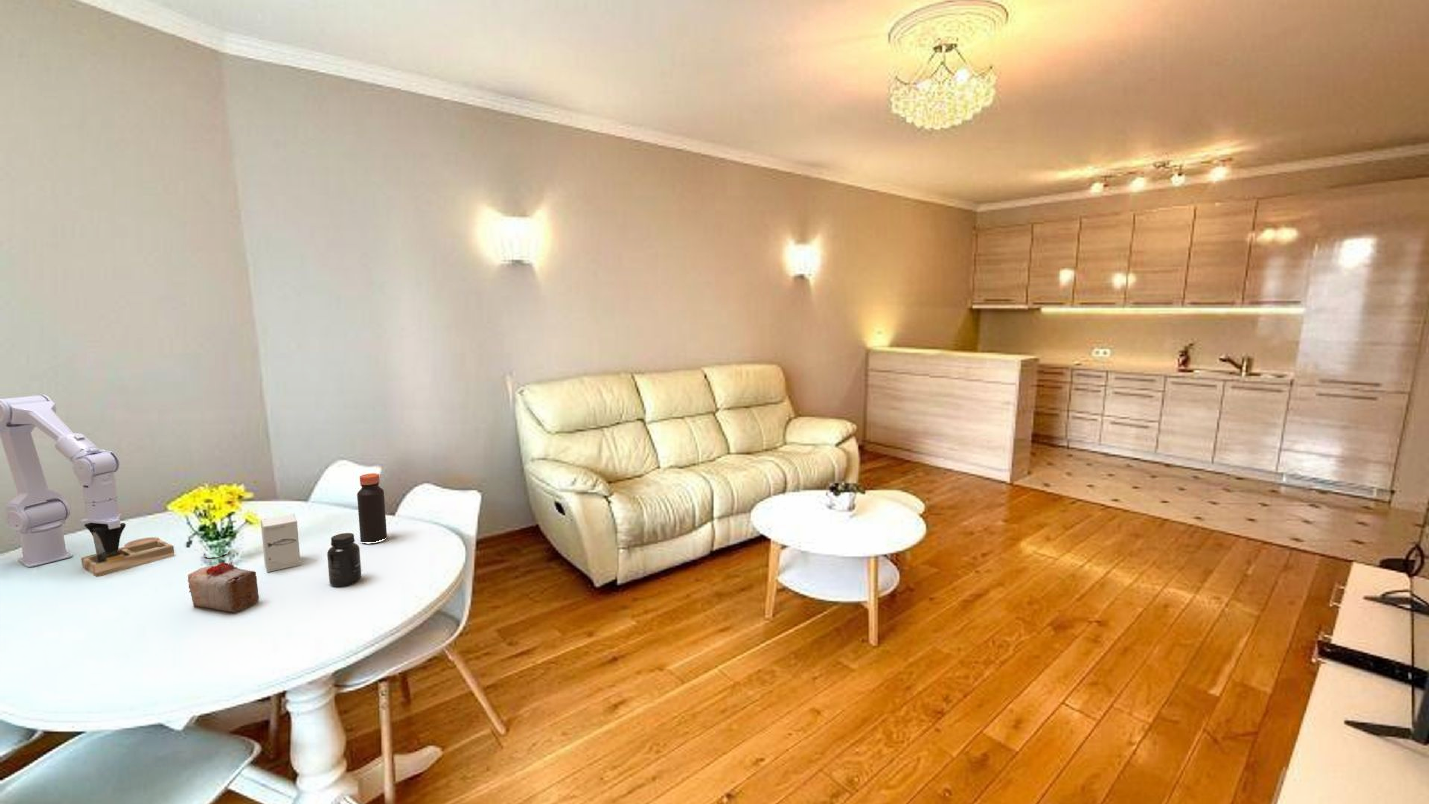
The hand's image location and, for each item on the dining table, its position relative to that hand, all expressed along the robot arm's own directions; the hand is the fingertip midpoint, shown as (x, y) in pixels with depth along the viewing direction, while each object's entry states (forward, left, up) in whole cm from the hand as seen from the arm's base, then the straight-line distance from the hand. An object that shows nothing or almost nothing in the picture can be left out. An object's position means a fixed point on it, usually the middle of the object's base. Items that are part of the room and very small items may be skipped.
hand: (108, 549), depth 147 cm
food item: (+48, +6, -5) cm, 49 cm away
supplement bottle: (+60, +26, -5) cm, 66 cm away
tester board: (0, +4, -5) cm, 6 cm away
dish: (-8, +9, -5) cm, 13 cm away
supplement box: (+36, +23, -5) cm, 43 cm away
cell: (0, 0, -3) cm, 3 cm away
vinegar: (+40, +45, -5) cm, 60 cm away
